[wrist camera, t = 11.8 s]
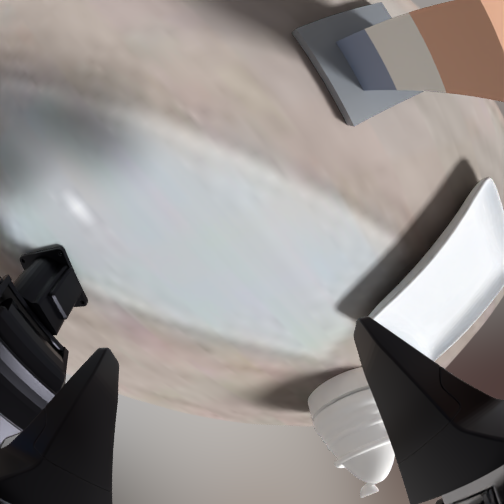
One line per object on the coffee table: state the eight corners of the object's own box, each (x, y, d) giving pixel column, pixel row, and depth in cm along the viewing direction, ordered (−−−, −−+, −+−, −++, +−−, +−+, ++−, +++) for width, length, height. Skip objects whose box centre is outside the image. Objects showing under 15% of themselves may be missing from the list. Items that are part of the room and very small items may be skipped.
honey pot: (343, 412, 41) (370, 495, 25) (290, 406, 36) (313, 510, 21) (397, 371, 36) (439, 461, 20) (351, 359, 32) (398, 480, 16)
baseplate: (347, 124, 17) (354, 126, 16) (291, 33, 14) (295, 28, 13) (418, 89, 16) (427, 89, 15) (373, 5, 12) (381, 2, 11)
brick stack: (363, 90, 15) (519, 105, 4) (335, 42, 13) (478, -4, 2) (401, 73, 14) (546, 85, 3) (376, 28, 12) (515, -1, 2)
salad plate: (505, 256, 28) (519, 268, 25) (420, 352, 35) (429, 368, 32) (469, 162, 20) (492, 171, 17) (346, 310, 27) (358, 332, 24)
